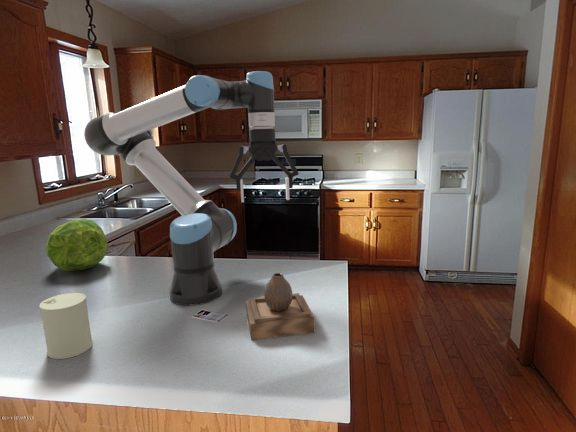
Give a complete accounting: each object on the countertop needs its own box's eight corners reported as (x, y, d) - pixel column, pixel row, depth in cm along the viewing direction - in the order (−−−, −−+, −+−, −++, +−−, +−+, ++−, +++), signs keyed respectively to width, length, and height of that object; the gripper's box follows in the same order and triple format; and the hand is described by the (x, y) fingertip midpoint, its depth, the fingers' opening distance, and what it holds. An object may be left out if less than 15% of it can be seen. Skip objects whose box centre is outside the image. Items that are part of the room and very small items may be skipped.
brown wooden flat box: (251, 339, 92) (250, 320, 91) (246, 315, 105) (245, 297, 104) (314, 332, 95) (314, 313, 94) (302, 309, 107) (302, 292, 106)
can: (59, 339, 95) (51, 291, 93) (99, 336, 96) (92, 289, 93) (38, 360, 86) (29, 308, 84) (83, 357, 87) (75, 306, 84)
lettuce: (91, 257, 161) (76, 214, 156) (122, 259, 146) (106, 212, 142) (41, 278, 146) (23, 232, 142) (71, 283, 132) (51, 231, 127)
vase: (296, 304, 101) (295, 271, 99) (287, 315, 95) (286, 280, 93) (270, 301, 103) (269, 268, 101) (260, 312, 97) (259, 278, 95)
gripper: (217, 129, 111) (223, 204, 115) (306, 126, 114) (308, 200, 118) (219, 129, 118) (223, 200, 123) (302, 127, 121) (304, 196, 125)
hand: (265, 200), depth 120 cm, fingers open, 13 cm apart
